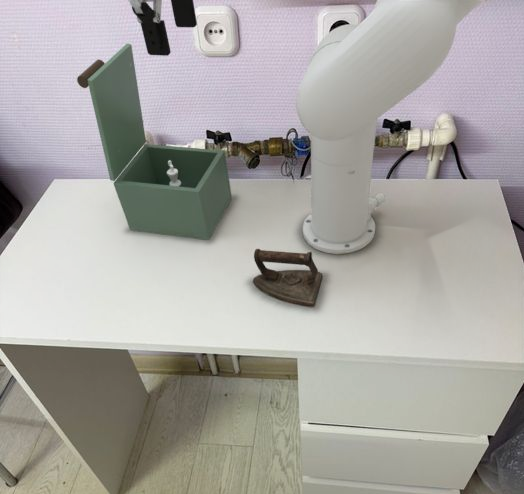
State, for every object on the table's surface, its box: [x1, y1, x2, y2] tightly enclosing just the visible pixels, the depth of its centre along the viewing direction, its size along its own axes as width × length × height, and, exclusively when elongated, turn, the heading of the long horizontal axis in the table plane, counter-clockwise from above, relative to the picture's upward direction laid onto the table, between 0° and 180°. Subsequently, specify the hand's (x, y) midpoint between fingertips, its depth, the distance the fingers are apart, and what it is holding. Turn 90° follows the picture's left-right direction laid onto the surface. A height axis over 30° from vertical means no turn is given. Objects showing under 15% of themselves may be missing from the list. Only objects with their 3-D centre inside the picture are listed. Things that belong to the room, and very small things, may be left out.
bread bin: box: [113, 143, 233, 241], centre depth 91 cm, size 16×13×10 cm
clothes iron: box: [252, 248, 323, 308], centre depth 77 cm, size 7×11×10 cm, turn 75°
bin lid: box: [76, 43, 147, 182], centre depth 82 cm, size 17×13×5 cm
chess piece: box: [167, 160, 181, 187], centre depth 90 cm, size 5×5×10 cm
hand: (173, 39), depth 70 cm, fingers open, 9 cm apart
